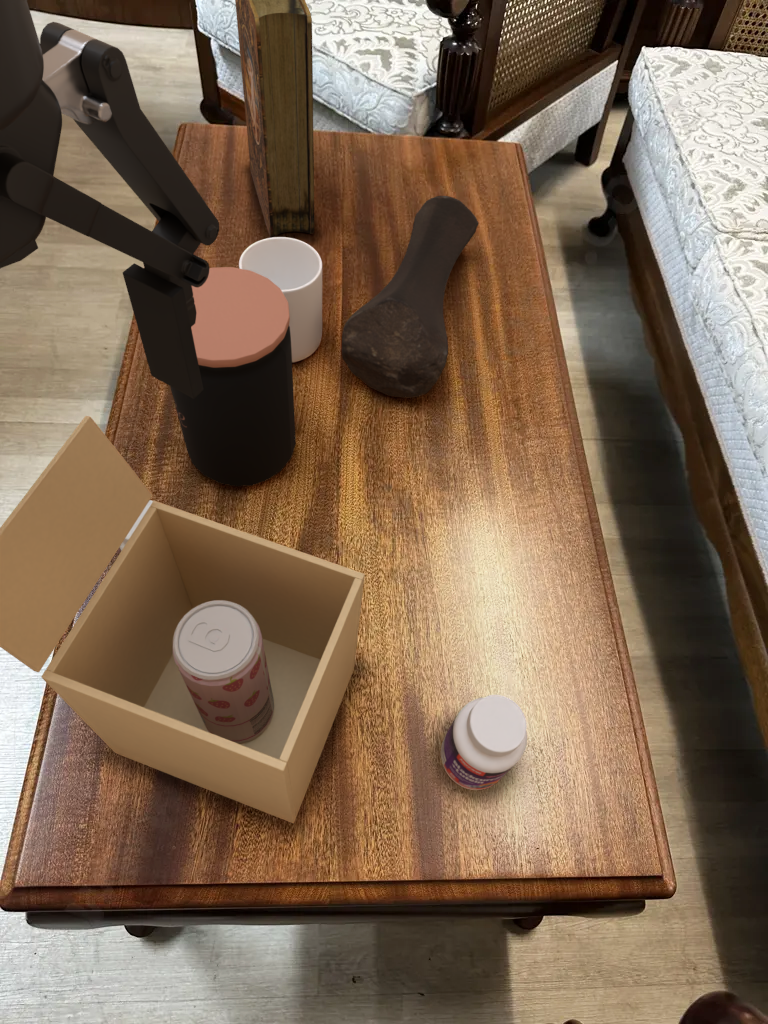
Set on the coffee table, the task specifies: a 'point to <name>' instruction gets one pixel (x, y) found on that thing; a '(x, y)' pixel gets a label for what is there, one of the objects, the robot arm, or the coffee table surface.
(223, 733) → the beverage can
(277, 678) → the carton
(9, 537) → the flap
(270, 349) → the coffee jar
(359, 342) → the dark brown bone
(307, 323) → the mug
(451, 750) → the pill bottle
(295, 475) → the coffee table surface
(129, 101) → the robot arm
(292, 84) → the book
